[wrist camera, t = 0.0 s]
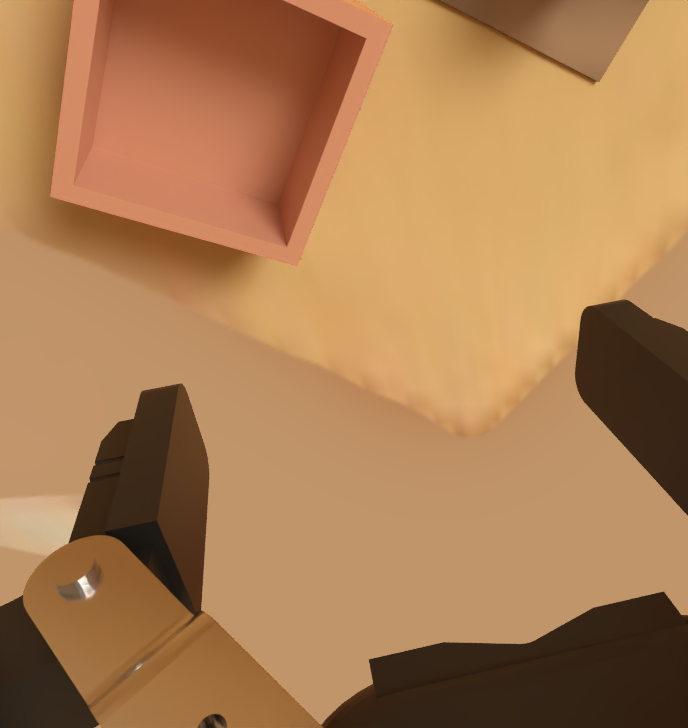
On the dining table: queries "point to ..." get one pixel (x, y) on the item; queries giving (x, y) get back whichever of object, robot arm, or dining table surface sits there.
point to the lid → (562, 27)
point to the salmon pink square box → (213, 113)
